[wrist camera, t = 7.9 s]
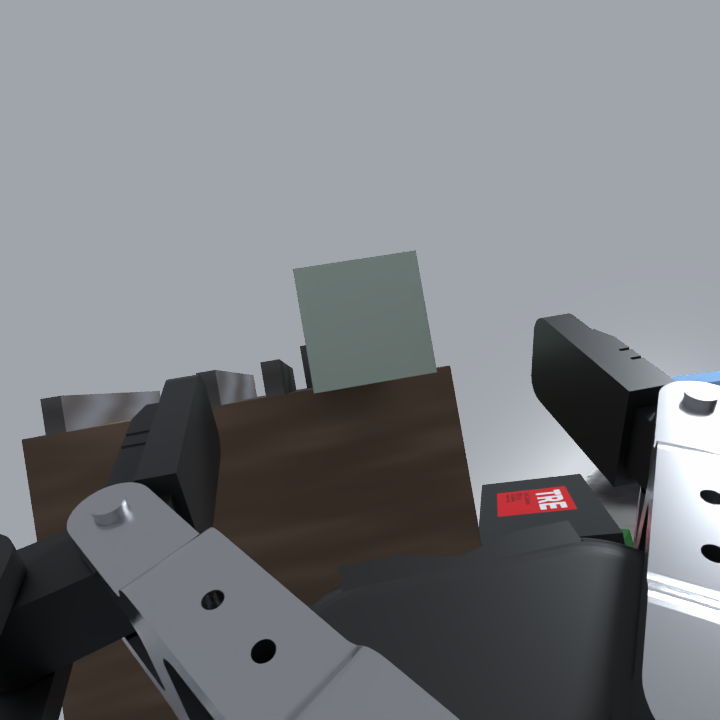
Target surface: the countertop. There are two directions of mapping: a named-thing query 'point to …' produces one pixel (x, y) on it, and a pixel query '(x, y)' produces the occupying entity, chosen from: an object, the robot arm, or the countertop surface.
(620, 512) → the countertop surface
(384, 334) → the grey-green flat block
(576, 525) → the cleaning product box
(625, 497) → the countertop surface
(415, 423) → the wooden box
